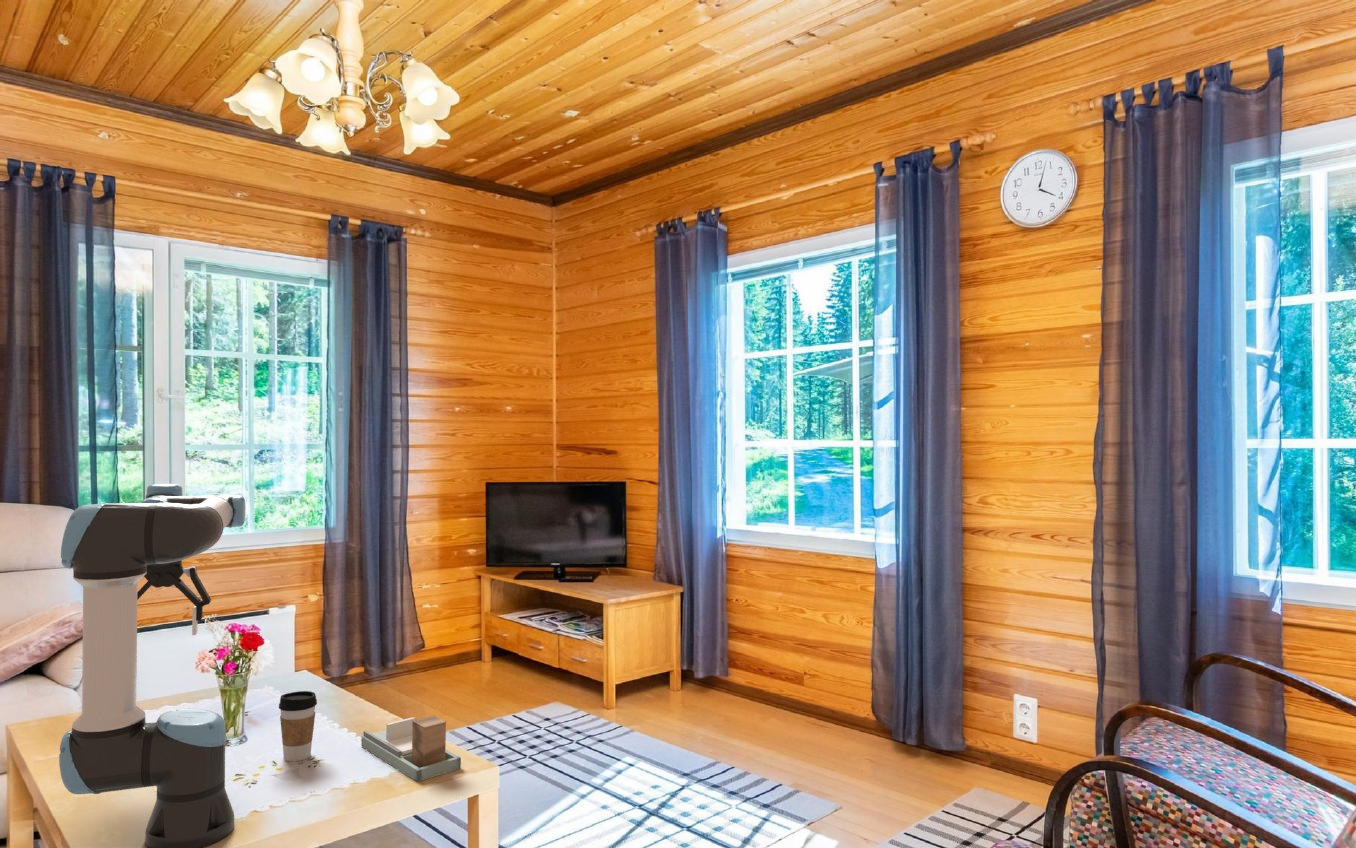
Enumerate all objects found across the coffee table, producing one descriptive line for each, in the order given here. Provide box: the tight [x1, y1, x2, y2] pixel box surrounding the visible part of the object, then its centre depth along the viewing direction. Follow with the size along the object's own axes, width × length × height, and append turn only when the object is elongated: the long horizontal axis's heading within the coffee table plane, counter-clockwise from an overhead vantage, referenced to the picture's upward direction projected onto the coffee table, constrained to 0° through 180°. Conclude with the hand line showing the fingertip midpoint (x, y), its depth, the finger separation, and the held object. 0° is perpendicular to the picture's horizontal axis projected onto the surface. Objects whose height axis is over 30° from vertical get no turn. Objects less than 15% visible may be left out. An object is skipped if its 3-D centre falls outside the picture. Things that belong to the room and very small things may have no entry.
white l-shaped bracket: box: [384, 716, 416, 755], centre depth 208 cm, size 9×8×5 cm
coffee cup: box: [278, 690, 318, 762], centre depth 207 cm, size 8×8×15 cm
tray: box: [360, 729, 462, 782], centre depth 208 cm, size 28×11×4 cm, turn 45°
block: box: [412, 715, 447, 768], centre depth 201 cm, size 6×6×11 cm
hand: (162, 636), depth 209 cm, fingers open, 13 cm apart
